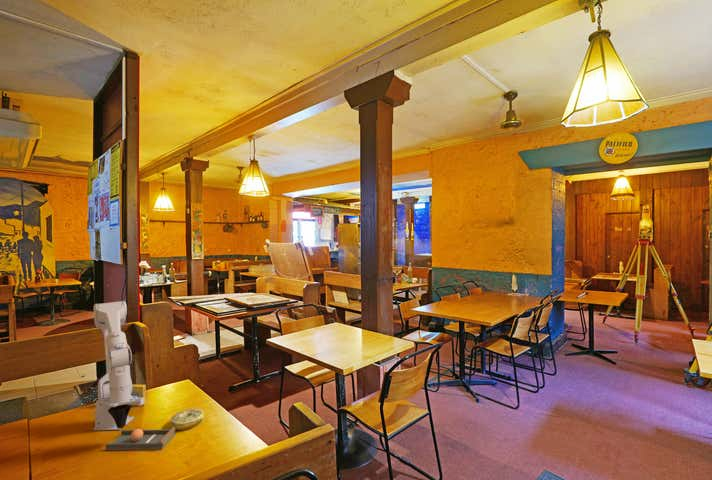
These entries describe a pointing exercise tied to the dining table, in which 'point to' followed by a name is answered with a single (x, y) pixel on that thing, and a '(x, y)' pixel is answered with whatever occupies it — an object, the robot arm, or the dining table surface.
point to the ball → (136, 435)
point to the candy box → (139, 392)
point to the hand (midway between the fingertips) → (121, 426)
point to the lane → (142, 440)
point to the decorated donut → (186, 419)
